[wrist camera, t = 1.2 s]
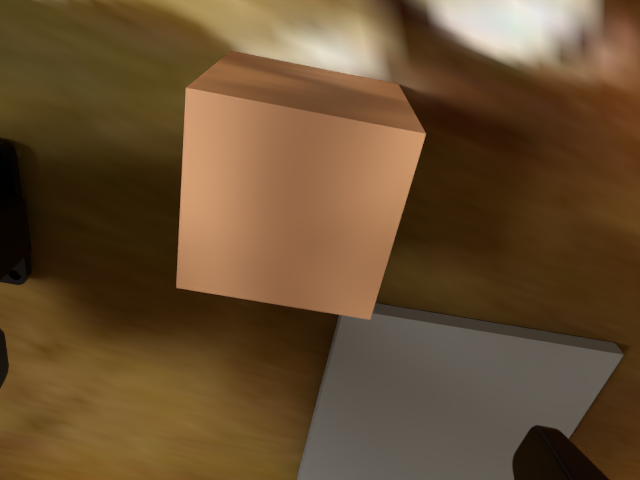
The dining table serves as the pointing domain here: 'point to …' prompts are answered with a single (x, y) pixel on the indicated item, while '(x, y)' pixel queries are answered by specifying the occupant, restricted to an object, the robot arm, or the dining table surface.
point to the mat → (444, 395)
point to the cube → (293, 183)
